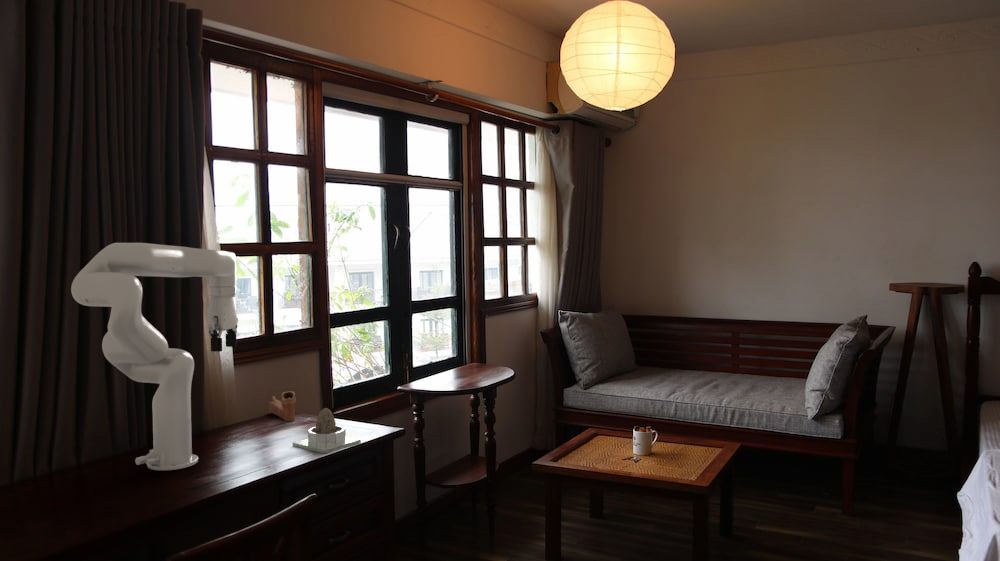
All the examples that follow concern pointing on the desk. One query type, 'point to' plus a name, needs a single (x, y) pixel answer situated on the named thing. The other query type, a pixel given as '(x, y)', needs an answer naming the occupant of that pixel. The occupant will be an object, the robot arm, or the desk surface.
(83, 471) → the desk surface
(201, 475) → the desk surface
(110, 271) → the robot arm
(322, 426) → the decorative egg
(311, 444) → the duct collar
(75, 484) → the desk surface
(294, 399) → the pipe
